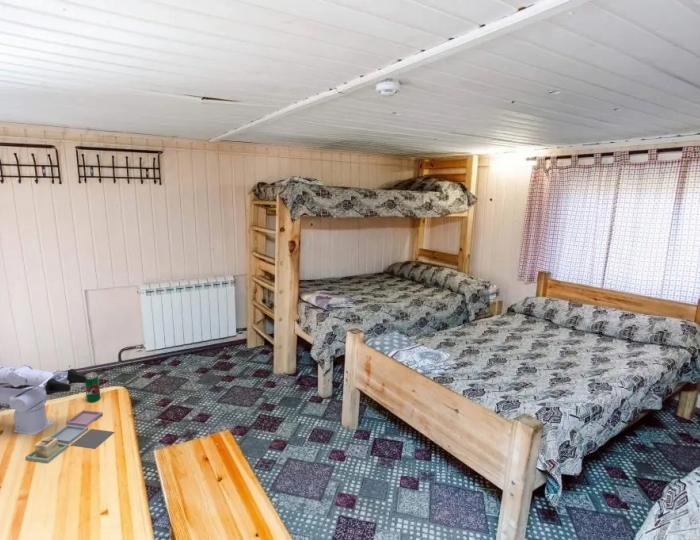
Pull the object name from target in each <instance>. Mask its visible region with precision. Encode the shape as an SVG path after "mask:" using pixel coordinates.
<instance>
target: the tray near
mask: <svg viewBox="0 0 700 540" xmlns="http://www.w3.org/2000/svg"><path fill="white" fill-rule="evenodd" d="M58 446H59V450H58V451H57V452H56V453H54V454H53V455H52V456H50V457H49V458H42V457H36V452H35V449H34V450H33V451H32V452H30V453H28V454H27V455H26V456H25V459H24V460H25V461H30V462H35V463H36V462H38V463H44V464H49V463H50V462H52V461H53V460H54V459H55V458H56V457H58V456H60V454H62V453H63V452H64V451H65V450H67V449H68V448H69V446H70V444H66V443H58Z"/></svg>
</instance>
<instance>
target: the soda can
mask: <svg viewBox="0 0 700 540" xmlns="http://www.w3.org/2000/svg"><path fill="white" fill-rule="evenodd" d="M97 373H98V372H96V371H95V372H94V371H92V372H88V373H86V374H85V375H84V376H85V377H87V379H86V382H85V383H84V389H85V390H84V391H85V397H86V401H87V402H88V403H95V402H97V401H99V400H100V399H101V389H100V380H99V375H98V374H97Z"/></svg>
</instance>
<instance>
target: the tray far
mask: <svg viewBox="0 0 700 540" xmlns="http://www.w3.org/2000/svg"><path fill="white" fill-rule="evenodd" d="M103 414H104V413H103V411H96V410H87V409H83V410H82V411H80V412H78V413H76V415H74V416H73V417H71V418H70V419H68V420H67V421H66V426H67V425H74V426H81V427H89V425H91V424H93V422H96V421H98V420H99V419H100V418H101V417H103V416H104V415H103Z"/></svg>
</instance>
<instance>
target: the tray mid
mask: <svg viewBox="0 0 700 540" xmlns="http://www.w3.org/2000/svg"><path fill="white" fill-rule="evenodd" d="M88 427H89V426H87V427H82V426H74V425H67V424H66V425H65V426H63V428H61V429H60V430H58V431H57V432H55V433H54V434H52V435H51V436H49V438H57V439H58V443H63V444H68V445H71V444H72V443H74V442H75V441H76V440H78V439H79V438H80V437H82V436H83V435H84V434H85V433H87V432H88V431H89V428H88Z"/></svg>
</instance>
